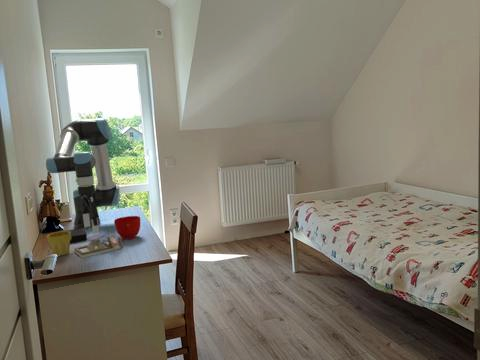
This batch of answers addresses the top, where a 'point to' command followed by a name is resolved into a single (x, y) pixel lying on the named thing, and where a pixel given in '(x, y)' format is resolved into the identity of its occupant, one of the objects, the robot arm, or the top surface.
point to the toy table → (95, 241)
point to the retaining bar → (112, 241)
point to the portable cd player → (77, 235)
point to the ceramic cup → (128, 226)
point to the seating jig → (97, 249)
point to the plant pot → (60, 242)
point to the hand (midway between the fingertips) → (91, 229)
